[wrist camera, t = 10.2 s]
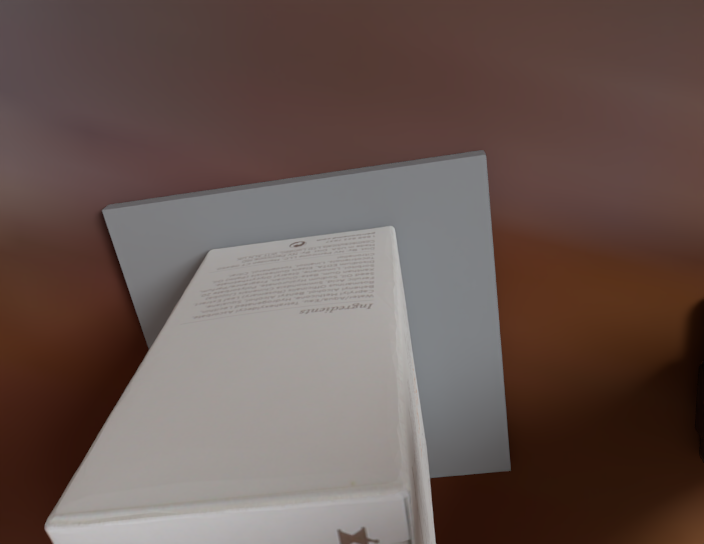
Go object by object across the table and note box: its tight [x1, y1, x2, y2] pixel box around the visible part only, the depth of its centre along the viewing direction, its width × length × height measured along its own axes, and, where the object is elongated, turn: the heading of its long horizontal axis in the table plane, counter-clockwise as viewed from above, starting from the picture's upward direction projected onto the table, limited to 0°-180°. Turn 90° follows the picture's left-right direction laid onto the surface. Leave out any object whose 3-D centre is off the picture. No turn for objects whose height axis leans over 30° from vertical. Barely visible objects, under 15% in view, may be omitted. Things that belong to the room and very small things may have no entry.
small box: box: [45, 226, 436, 544], centre depth 15 cm, size 8×6×10 cm
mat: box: [102, 150, 511, 478], centre depth 20 cm, size 11×11×1 cm
